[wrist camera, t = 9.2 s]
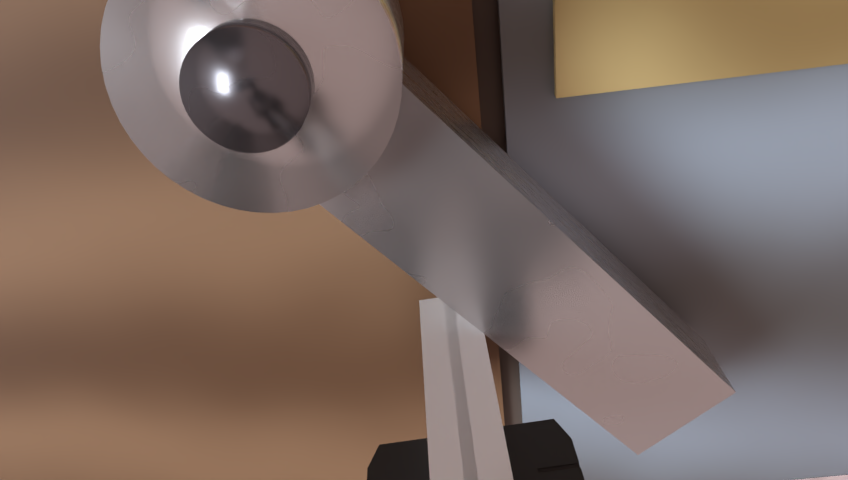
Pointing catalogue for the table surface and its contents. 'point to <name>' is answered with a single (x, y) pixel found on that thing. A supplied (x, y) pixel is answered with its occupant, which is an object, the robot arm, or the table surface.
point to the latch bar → (400, 188)
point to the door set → (396, 290)
